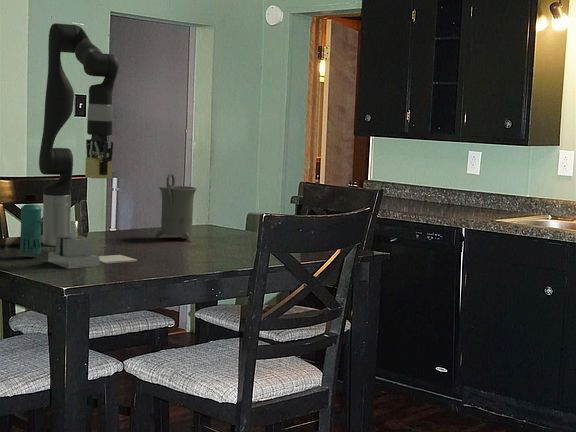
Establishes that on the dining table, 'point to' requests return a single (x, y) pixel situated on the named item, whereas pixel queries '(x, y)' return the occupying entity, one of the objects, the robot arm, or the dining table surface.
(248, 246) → the dining table surface
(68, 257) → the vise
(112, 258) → the pad
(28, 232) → the beverage bottle
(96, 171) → the brass collar
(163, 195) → the grey looped tall container
